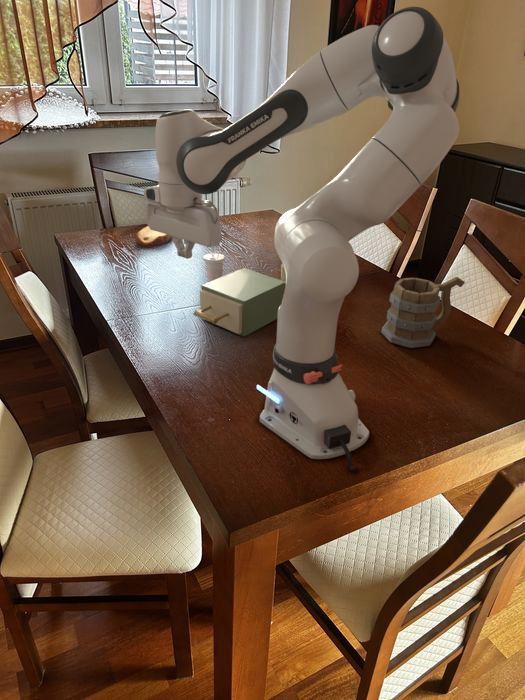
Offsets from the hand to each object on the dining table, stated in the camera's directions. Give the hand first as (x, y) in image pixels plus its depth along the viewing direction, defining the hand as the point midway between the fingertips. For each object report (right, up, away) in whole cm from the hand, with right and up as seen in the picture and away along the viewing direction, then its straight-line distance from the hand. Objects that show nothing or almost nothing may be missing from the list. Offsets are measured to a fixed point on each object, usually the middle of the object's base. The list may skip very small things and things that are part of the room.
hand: (184, 256), depth 117 cm
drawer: (+9, -13, +22) cm, 27 cm away
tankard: (+59, -17, +20) cm, 64 cm away
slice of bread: (-24, +21, +81) cm, 87 cm away
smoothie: (+3, -2, +42) cm, 43 cm away
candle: (+25, -4, +40) cm, 48 cm away
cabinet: (+12, -12, +25) cm, 30 cm away
